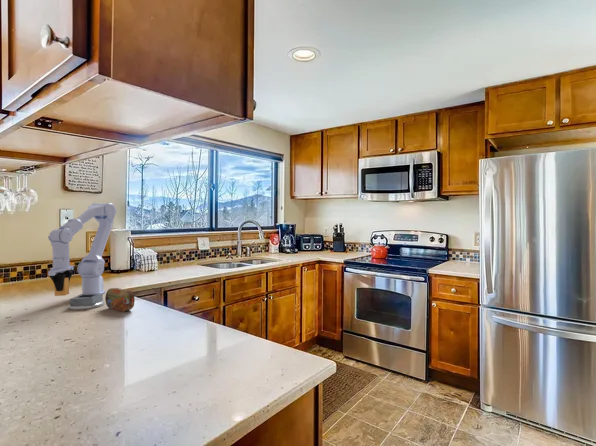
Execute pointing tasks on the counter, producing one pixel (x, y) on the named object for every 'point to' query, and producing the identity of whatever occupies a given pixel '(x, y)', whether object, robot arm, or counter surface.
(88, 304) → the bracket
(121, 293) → the tin
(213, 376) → the counter surface
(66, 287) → the tan rectangular prism
